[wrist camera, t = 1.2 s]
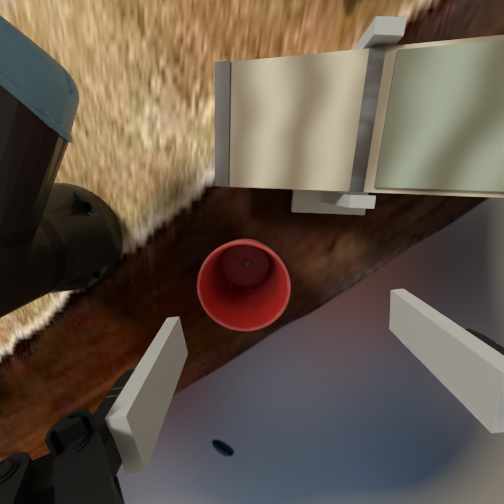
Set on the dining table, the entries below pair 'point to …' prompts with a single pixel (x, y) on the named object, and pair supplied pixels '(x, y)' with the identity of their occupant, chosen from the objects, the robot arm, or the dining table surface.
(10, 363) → the dining table surface
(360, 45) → the stand
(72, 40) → the dining table surface
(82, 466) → the robot arm
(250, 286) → the flower pot
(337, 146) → the beam
